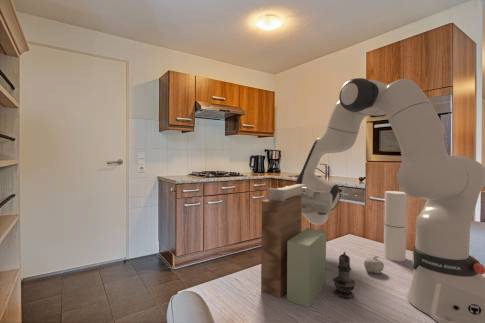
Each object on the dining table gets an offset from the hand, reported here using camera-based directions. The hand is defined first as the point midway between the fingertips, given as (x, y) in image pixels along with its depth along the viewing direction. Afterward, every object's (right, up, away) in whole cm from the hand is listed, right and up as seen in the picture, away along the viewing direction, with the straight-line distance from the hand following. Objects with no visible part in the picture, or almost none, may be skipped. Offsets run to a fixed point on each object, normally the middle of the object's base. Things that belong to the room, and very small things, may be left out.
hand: (295, 188), depth 87 cm
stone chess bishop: (+11, -29, -13) cm, 33 cm away
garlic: (+26, -28, 0) cm, 38 cm away
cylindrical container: (+40, -28, +13) cm, 50 cm away
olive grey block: (+1, -28, -12) cm, 31 cm away
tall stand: (-6, -28, -8) cm, 30 cm away
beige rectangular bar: (-3, -2, -4) cm, 5 cm away
